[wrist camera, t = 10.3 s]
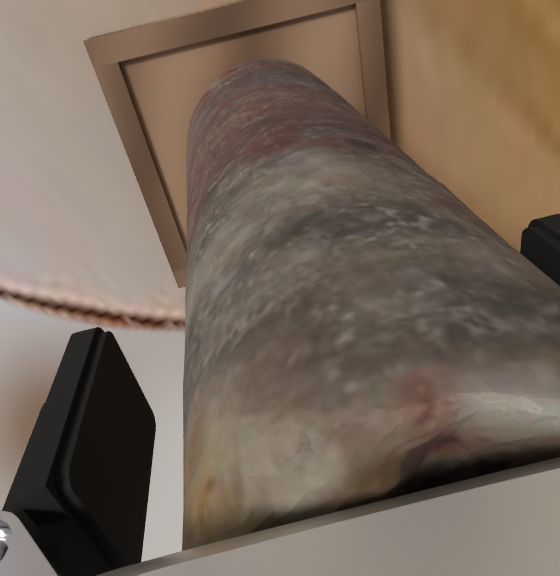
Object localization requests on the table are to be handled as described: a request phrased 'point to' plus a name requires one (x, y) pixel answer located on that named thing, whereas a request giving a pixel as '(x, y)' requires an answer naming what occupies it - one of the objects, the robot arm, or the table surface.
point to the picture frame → (214, 62)
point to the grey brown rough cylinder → (344, 317)
